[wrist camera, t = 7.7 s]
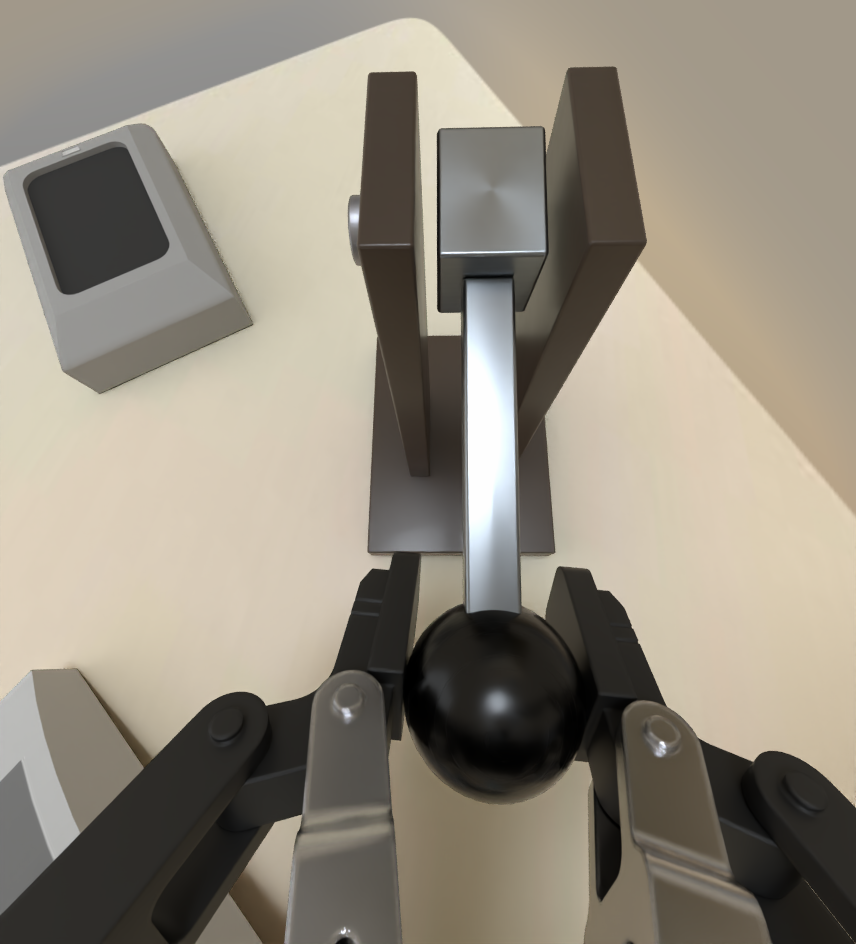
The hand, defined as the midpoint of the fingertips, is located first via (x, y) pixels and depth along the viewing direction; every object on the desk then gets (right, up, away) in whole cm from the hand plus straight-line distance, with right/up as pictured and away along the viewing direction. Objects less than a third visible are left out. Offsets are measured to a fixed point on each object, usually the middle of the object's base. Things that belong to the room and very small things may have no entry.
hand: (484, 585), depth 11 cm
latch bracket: (0, +5, +12) cm, 13 cm away
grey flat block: (-20, +16, +16) cm, 30 cm away
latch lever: (0, +3, 0) cm, 3 cm away
